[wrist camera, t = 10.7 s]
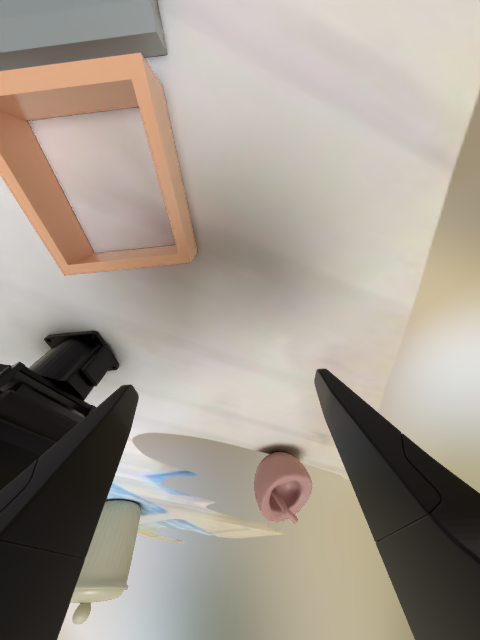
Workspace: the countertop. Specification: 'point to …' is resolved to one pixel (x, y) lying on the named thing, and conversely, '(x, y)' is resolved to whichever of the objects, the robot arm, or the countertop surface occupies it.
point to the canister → (107, 557)
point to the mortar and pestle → (281, 486)
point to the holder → (38, 178)
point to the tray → (77, 31)
